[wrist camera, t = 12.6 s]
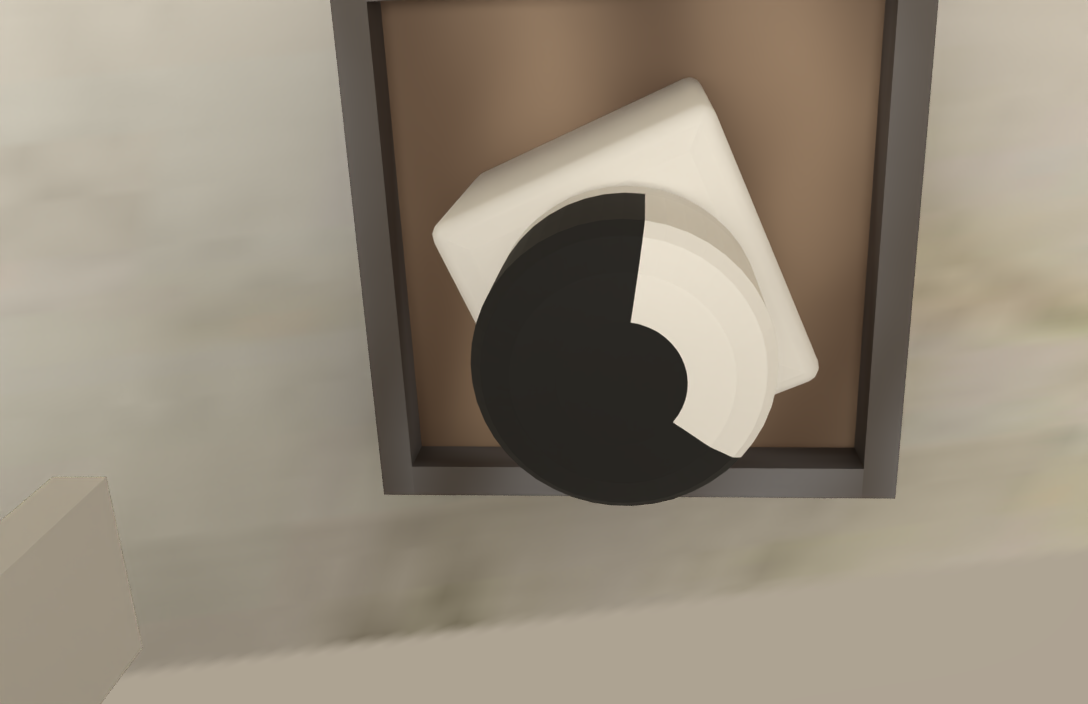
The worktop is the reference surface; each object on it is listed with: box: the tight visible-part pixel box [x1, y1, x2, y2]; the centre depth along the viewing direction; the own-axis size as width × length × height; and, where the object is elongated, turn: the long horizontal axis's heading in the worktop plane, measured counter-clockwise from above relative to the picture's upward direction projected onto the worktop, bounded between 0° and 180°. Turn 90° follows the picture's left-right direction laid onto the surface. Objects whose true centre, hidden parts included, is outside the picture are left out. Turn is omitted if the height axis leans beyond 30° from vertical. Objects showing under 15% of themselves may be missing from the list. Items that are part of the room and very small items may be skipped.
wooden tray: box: [330, 0, 938, 499], centre depth 30 cm, size 16×16×2 cm
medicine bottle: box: [432, 77, 819, 506], centre depth 25 cm, size 7×7×12 cm
